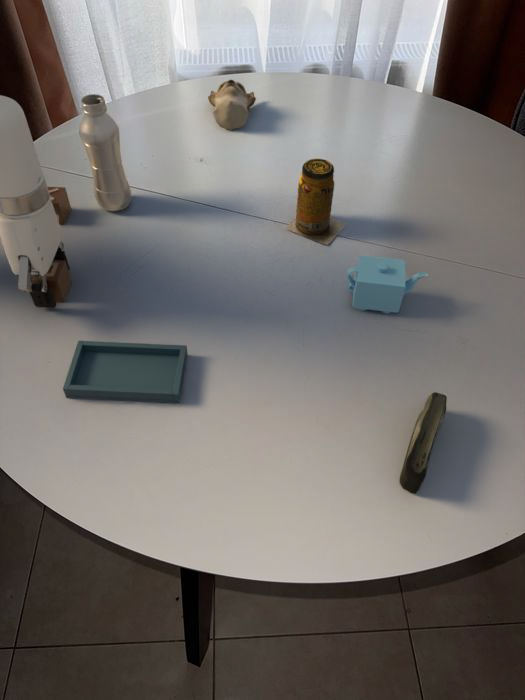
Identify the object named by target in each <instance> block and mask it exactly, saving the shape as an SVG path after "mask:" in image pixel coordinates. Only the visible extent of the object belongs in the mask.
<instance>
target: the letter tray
mask: <svg viewBox="0 0 525 700" xmlns="http://www.w3.org/2000/svg"><path fill="white" fill-rule="evenodd" d="M188 353H189V352H188V346H187V345H183V344H181V345H180V344H161V343H141V342H139V343H138V342H117V341H116V342H115V341H100V340H99V341H98V340H95V341H94V340H78V341H77V344H76V347H75V349H74V352H73V356H72V359H71V362H70V365H69V369H68V371H67V374H66V377H65V380H64V384H63V387H62V392H63V393H64V395H65V398H66V399H83V400H84V399H86V400H104V401H105V400H106V401H108V400H109V401H110V400H111V401H124V402H125V401H127V402H129V401H130V402H147V403H148V402H150V403H168V402H169V404H170V403H172V404H180V403H181V400H182V399H181V398H182V393H183V386H184V381H185V373H186V368H187V361H188V356H189V355H188Z"/></svg>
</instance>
